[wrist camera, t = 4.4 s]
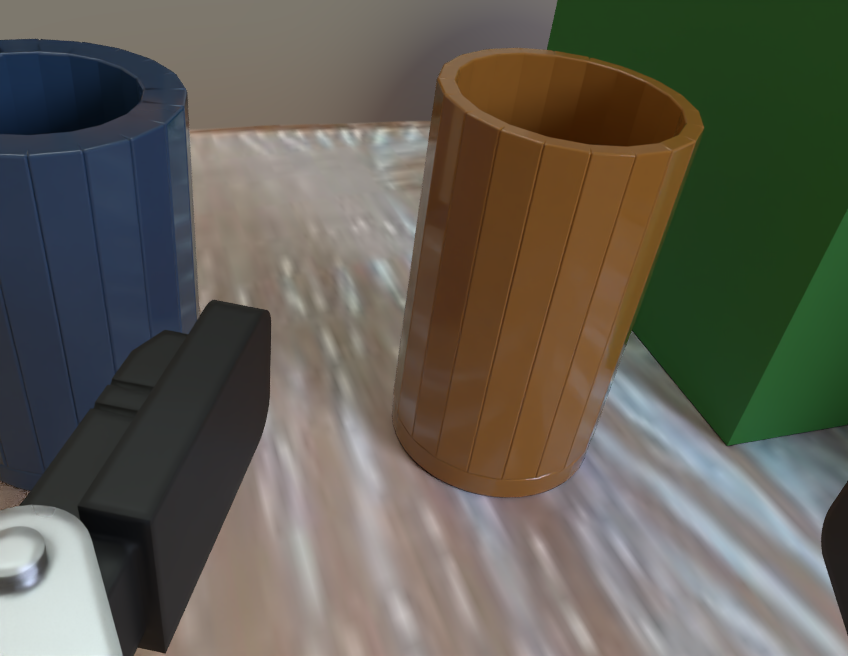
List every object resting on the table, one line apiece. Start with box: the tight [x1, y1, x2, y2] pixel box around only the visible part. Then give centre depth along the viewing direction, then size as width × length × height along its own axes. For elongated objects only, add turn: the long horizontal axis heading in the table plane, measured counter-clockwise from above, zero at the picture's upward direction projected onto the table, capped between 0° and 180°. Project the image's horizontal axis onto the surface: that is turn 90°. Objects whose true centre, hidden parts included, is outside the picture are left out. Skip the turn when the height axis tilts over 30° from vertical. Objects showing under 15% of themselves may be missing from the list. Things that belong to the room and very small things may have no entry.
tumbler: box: [392, 48, 704, 498], centre depth 22 cm, size 6×6×11 cm
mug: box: [0, 39, 200, 491], centre depth 22 cm, size 10×7×10 cm
